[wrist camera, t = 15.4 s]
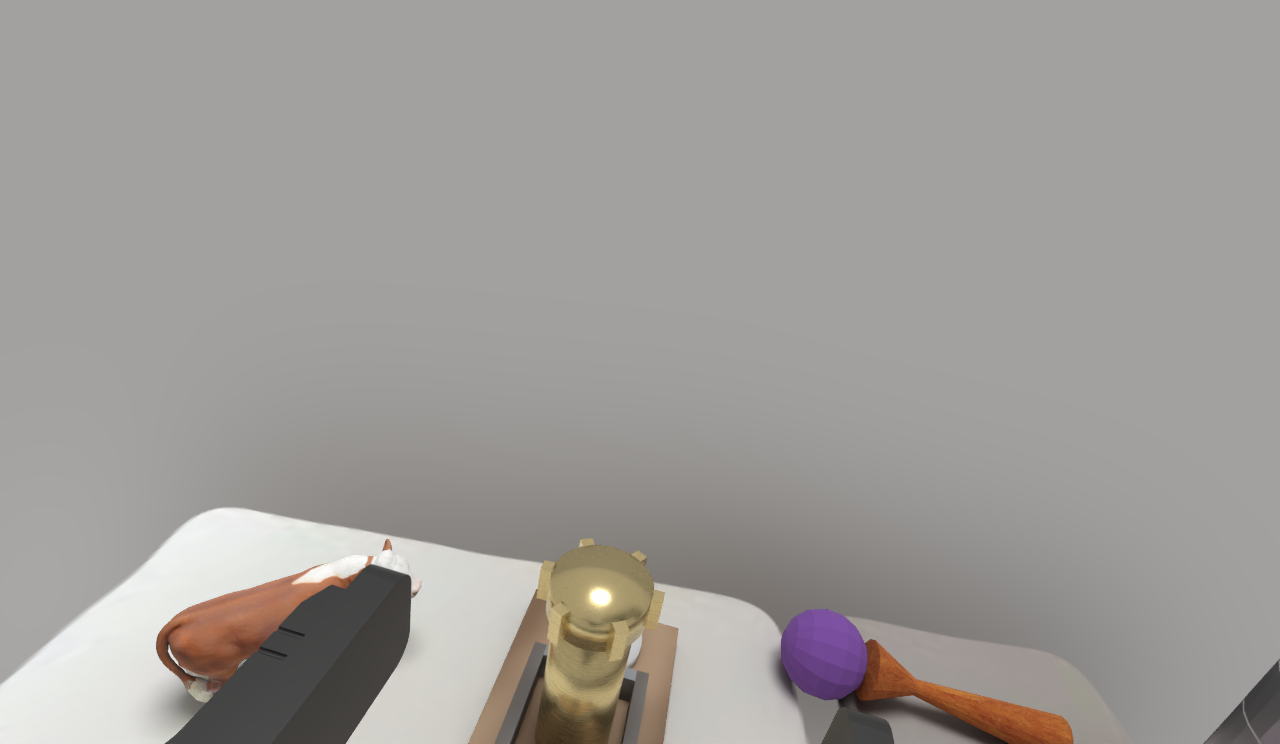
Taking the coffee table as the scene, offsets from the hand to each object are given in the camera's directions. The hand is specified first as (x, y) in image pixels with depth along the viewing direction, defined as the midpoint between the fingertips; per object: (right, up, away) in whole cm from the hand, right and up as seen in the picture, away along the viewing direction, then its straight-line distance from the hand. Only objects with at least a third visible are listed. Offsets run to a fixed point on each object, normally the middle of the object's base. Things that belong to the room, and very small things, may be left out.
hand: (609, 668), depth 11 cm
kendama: (+20, -20, +34) cm, 44 cm away
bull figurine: (-21, -13, +27) cm, 37 cm away
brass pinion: (-3, -16, +25) cm, 30 cm away
